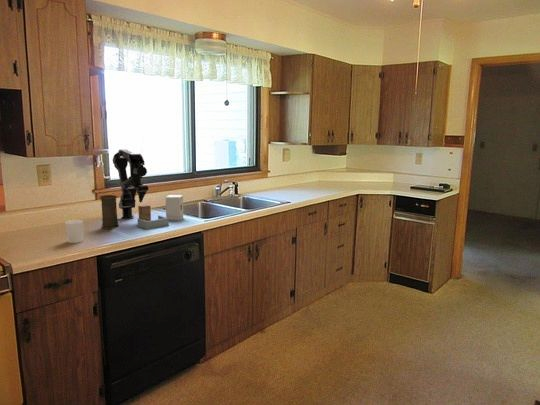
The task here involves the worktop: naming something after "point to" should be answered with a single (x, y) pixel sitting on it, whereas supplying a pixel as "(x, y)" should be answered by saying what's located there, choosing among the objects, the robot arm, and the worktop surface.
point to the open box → (153, 223)
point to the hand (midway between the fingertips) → (136, 201)
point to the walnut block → (144, 212)
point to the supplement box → (174, 207)
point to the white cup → (74, 231)
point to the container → (109, 212)
